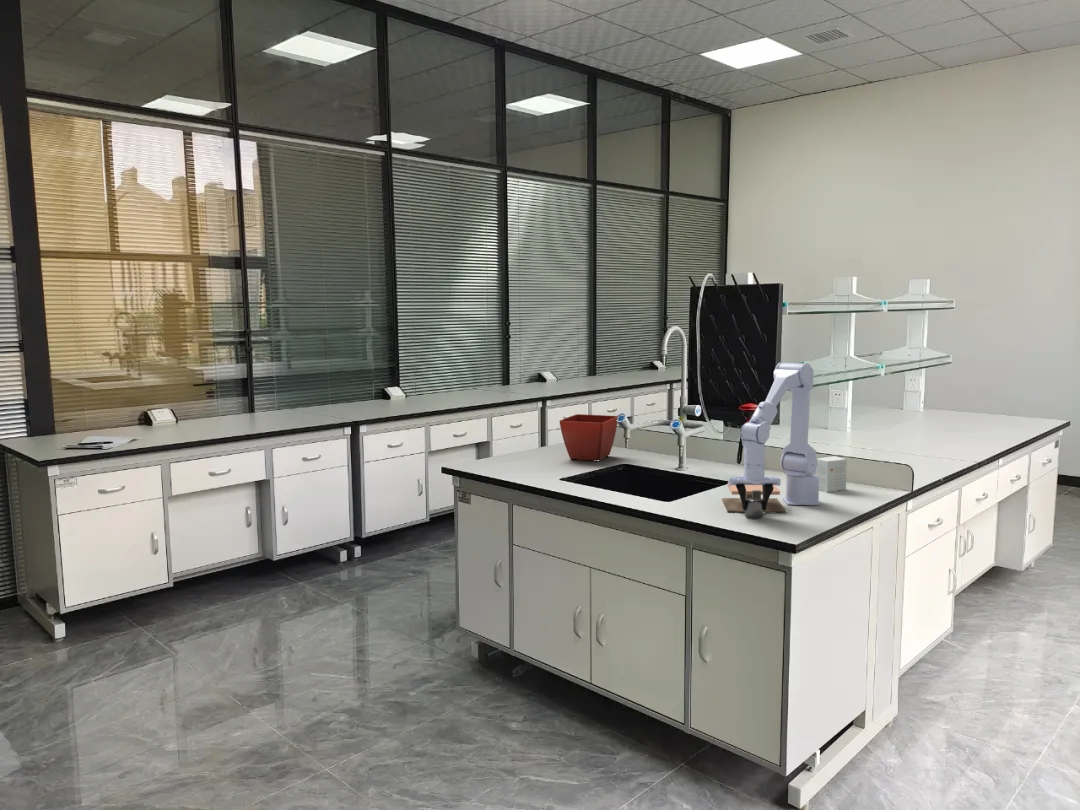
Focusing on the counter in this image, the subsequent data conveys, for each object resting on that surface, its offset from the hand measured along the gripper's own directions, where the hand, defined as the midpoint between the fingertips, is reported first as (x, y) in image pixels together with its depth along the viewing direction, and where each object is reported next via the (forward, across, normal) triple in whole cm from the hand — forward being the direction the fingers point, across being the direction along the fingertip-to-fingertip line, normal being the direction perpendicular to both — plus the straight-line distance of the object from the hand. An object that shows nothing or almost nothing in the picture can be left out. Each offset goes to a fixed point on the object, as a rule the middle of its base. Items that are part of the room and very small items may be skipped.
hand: (754, 509), depth 224 cm
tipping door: (-3, +2, +12) cm, 12 cm away
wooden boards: (+2, +2, +12) cm, 12 cm away
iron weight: (+2, 0, 0) cm, 2 cm away
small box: (+3, +30, +34) cm, 45 cm away
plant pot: (+3, -53, +88) cm, 103 cm away
